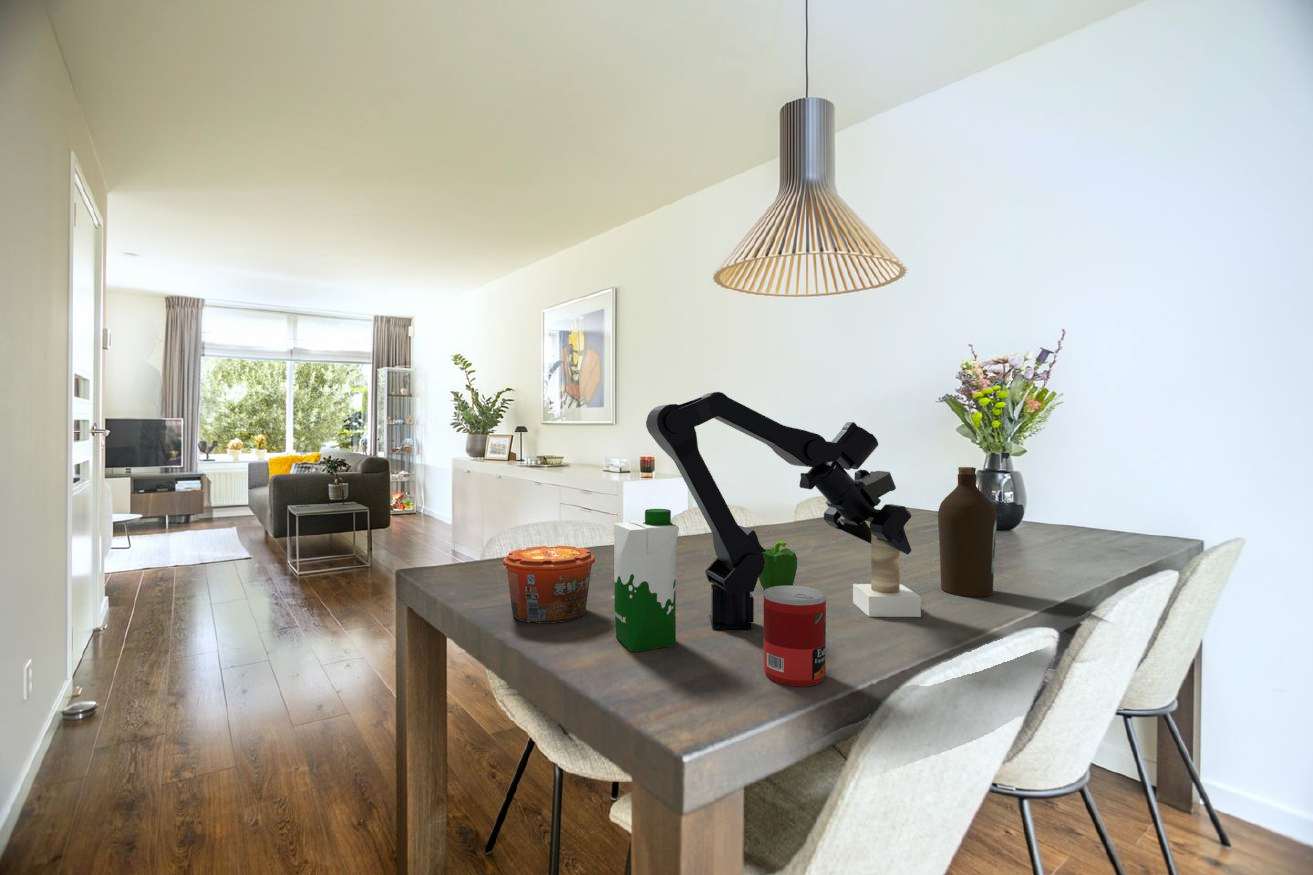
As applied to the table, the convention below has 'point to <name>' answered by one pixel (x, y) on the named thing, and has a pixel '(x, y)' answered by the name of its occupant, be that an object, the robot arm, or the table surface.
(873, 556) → the salt mill
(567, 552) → the food container
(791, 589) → the canned food
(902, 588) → the stoneware block
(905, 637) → the table surface
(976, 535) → the olive oil
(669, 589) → the milk carton
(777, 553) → the bell pepper
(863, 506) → the robot arm
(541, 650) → the table surface
